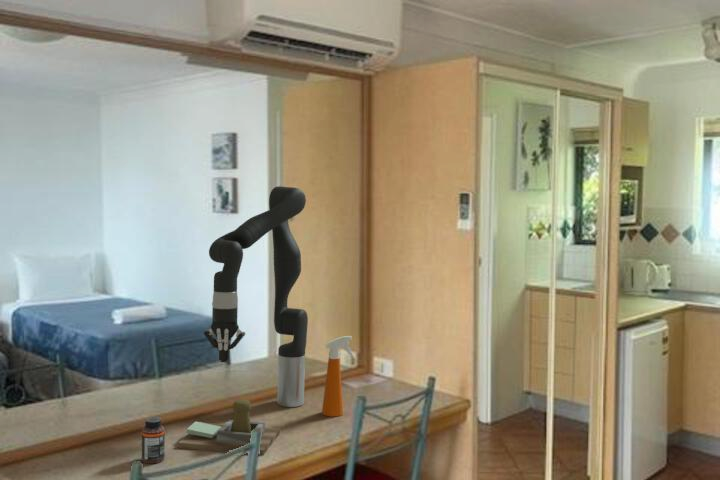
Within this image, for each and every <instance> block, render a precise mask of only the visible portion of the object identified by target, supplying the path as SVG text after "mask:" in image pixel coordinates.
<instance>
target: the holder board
mask: <svg viewBox="0 0 720 480" xmlns="http://www.w3.org/2000/svg"><path fill="white" fill-rule="evenodd" d="M233 421H234V419H232V420H231V419H229V420H228V421H227V422H225V423H214V422H205V423H206V424H211V425H216V426H221V427H222V428H221V429H220V430H219V431H218V432H217V436H216V437H215V438H213V439H212V438H208V437H203V436H198V435H193V434H189V433H186V435H185V436H184V437H183V438H181V439H180V440H179V441H178V442H177V443H178V445H177V448H178V449H179V448H180V449H187V448H189V449H188V450H198V451H199V450H200V451H201V450H202V451H212V452H213V451H215V452H224V453H227V452H226V451H229V450H233V449H236V448H239V447H241V446H244V445H246V444H248V443H250V438H251V433H243V432H232V427H233ZM200 422H201V421H200ZM201 423H204V422H201ZM250 425H251V431H252V430H253V429H259V430H261V432H262V437H261V444H260V455H259V456H264V455H265V454H266V453H267V452H268V450H269V448H270V447H271V446H272V444H273V443H274V442H275V440H276V439H277V438H278V436H279V435H280V433H281V429H280V428H276V427H266V423H265V422H260V421H259V422H258V421H250Z"/></svg>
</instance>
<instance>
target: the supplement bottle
mask: <svg viewBox="0 0 720 480" xmlns="http://www.w3.org/2000/svg"><path fill="white" fill-rule="evenodd" d="M165 433H166V430H165V427H164V426H163V425H162V419H161V418H160V417H158V416H157V417H156V416H154V417H153V416H151V417H148V418H146V419H145V425H144V426H143V427H142V429H141V461H142V462H143V463H146V464H157V463H160V462H162V461H164V459H165V435H166V434H165Z"/></svg>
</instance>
